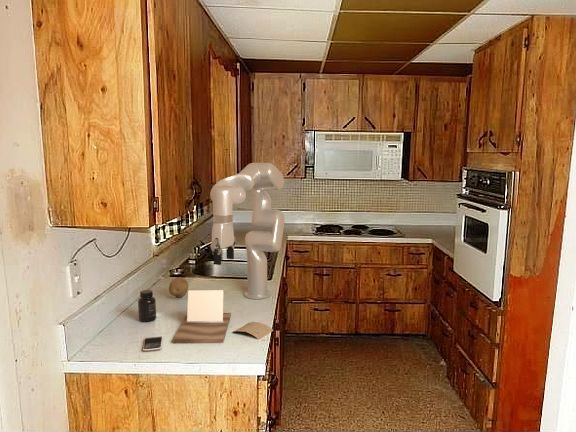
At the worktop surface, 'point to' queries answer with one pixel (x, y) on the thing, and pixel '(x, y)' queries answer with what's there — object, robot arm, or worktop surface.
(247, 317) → the worktop surface
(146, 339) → the cell phone
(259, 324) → the clay tablet
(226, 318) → the walnut board
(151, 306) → the supplement bottle
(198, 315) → the ceramic tile
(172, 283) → the natural sponge
